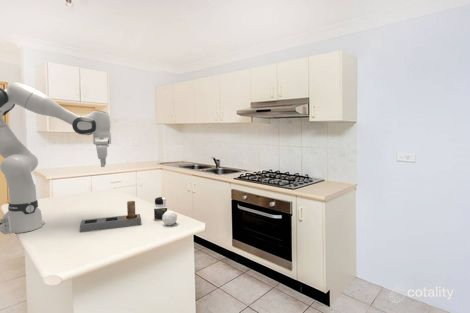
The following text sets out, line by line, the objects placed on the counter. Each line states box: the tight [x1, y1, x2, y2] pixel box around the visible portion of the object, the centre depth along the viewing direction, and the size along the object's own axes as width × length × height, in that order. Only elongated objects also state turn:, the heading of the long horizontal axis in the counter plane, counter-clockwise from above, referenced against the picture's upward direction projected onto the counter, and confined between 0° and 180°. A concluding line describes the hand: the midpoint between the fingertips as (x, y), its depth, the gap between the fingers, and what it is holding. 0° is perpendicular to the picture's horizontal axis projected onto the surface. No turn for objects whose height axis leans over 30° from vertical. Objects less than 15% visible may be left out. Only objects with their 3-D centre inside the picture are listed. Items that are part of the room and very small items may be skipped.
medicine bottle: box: [153, 196, 168, 221], centre depth 164 cm, size 7×7×12 cm
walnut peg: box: [126, 200, 136, 219], centre depth 155 cm, size 4×4×12 cm
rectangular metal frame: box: [79, 213, 142, 233], centre depth 152 cm, size 29×9×4 cm, turn 112°
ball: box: [161, 210, 178, 226], centre depth 153 cm, size 8×8×8 cm
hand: (103, 165), depth 157 cm, fingers open, 8 cm apart
